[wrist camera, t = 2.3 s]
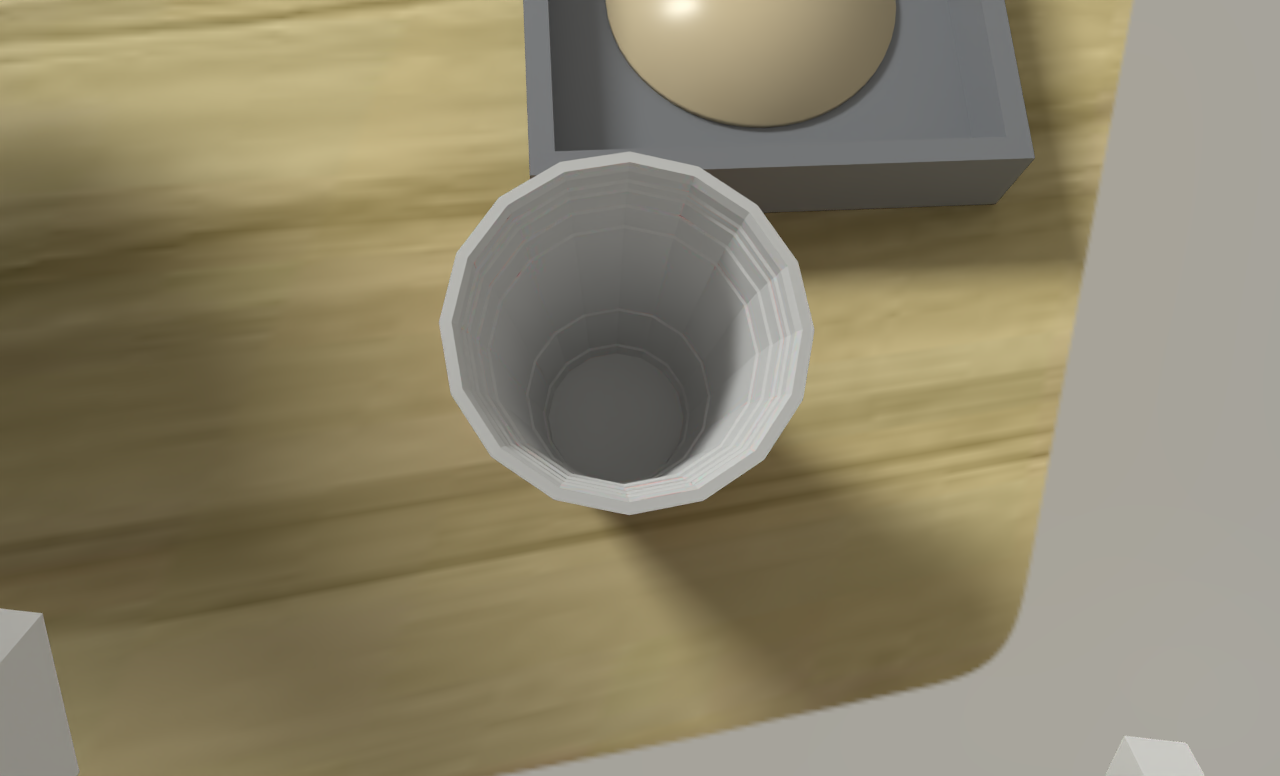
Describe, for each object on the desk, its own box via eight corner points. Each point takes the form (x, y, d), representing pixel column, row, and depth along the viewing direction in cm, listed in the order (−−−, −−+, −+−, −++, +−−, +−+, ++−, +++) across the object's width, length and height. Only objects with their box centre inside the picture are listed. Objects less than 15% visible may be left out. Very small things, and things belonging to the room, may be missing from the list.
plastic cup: (540, 604, 38) (519, 573, 26) (443, 352, 40) (385, 222, 29) (797, 496, 39) (883, 422, 28) (688, 261, 42) (725, 104, 30)
